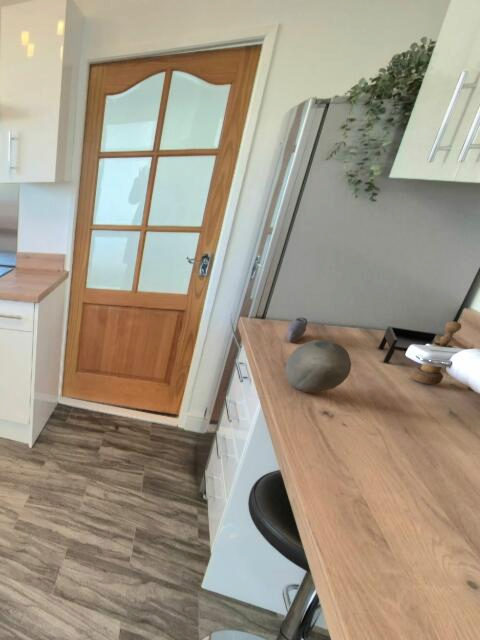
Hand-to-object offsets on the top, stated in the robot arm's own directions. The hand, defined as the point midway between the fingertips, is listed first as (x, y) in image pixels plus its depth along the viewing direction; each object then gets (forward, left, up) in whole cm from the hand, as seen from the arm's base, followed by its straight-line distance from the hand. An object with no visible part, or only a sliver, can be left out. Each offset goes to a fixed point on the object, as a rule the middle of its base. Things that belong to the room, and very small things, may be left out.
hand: (439, 347), depth 123 cm
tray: (+2, -19, -11) cm, 22 cm away
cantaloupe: (+28, +29, -11) cm, 42 cm away
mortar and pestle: (0, +1, -10) cm, 10 cm away
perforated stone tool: (+33, -19, -11) cm, 39 cm away
